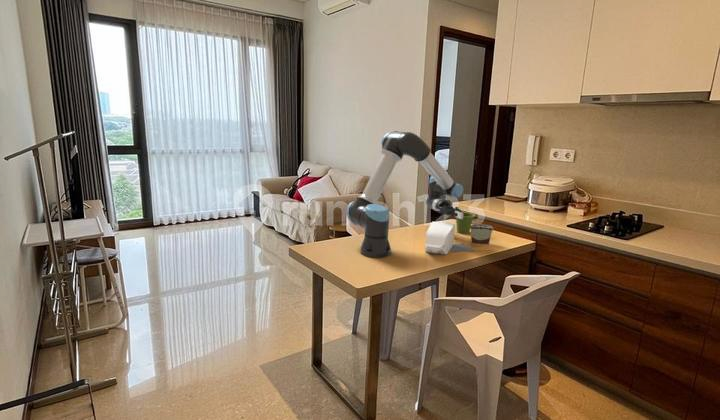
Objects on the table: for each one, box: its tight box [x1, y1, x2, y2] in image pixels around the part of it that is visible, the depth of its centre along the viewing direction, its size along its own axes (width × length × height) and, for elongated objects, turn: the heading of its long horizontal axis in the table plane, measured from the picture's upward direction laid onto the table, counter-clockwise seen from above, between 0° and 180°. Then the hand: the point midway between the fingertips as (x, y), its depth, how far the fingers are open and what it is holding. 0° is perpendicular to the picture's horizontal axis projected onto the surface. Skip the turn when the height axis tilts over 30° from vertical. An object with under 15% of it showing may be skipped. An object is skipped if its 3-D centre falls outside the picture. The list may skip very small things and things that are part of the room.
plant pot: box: [455, 211, 476, 235], centre depth 230 cm, size 12×12×11 cm
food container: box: [470, 223, 494, 246], centre depth 211 cm, size 12×6×10 cm, turn 84°
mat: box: [448, 242, 475, 253], centre depth 201 cm, size 16×12×1 cm
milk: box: [425, 221, 456, 256], centre depth 195 cm, size 12×12×26 cm
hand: (461, 216), depth 194 cm, fingers closed
